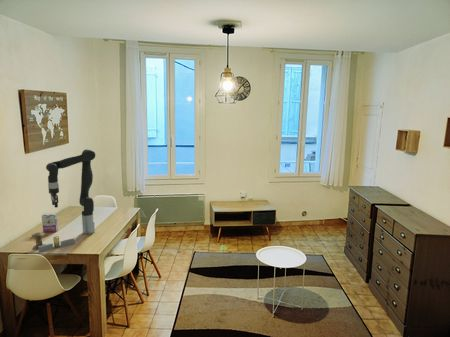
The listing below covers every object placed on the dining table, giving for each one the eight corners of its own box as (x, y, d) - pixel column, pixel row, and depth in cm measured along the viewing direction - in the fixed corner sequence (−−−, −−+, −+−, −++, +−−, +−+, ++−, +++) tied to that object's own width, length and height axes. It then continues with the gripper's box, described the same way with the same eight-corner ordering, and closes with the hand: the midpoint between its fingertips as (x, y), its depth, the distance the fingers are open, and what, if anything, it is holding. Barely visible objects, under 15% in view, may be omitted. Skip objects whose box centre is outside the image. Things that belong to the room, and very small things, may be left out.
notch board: (73, 242, 270) (73, 238, 269) (74, 243, 268) (74, 239, 267) (38, 251, 253) (38, 246, 252) (39, 251, 252) (38, 247, 251)
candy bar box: (58, 230, 296) (56, 213, 293) (56, 232, 292) (54, 214, 289) (45, 230, 295) (43, 213, 292) (43, 232, 290) (41, 215, 287)
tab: (59, 245, 263) (58, 235, 262) (60, 246, 260) (59, 237, 259) (53, 246, 261) (52, 237, 259) (54, 248, 258) (54, 238, 256)
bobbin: (44, 244, 266) (43, 231, 264) (47, 247, 259) (45, 234, 257) (32, 246, 260) (30, 234, 258) (34, 250, 253) (33, 237, 251)
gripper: (60, 188, 263) (62, 207, 266) (56, 185, 274) (57, 203, 277) (50, 189, 258) (52, 209, 261) (46, 186, 269) (48, 204, 272)
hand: (55, 206), depth 269 cm, fingers open, 8 cm apart
